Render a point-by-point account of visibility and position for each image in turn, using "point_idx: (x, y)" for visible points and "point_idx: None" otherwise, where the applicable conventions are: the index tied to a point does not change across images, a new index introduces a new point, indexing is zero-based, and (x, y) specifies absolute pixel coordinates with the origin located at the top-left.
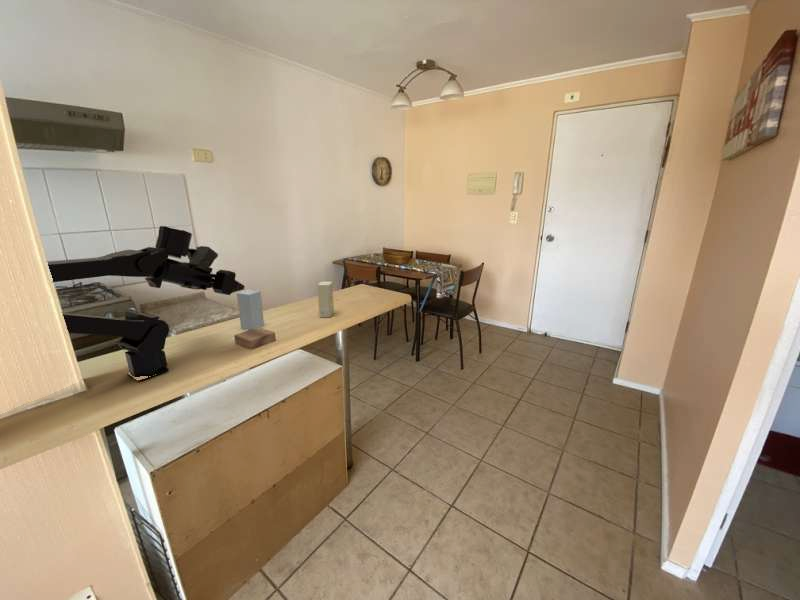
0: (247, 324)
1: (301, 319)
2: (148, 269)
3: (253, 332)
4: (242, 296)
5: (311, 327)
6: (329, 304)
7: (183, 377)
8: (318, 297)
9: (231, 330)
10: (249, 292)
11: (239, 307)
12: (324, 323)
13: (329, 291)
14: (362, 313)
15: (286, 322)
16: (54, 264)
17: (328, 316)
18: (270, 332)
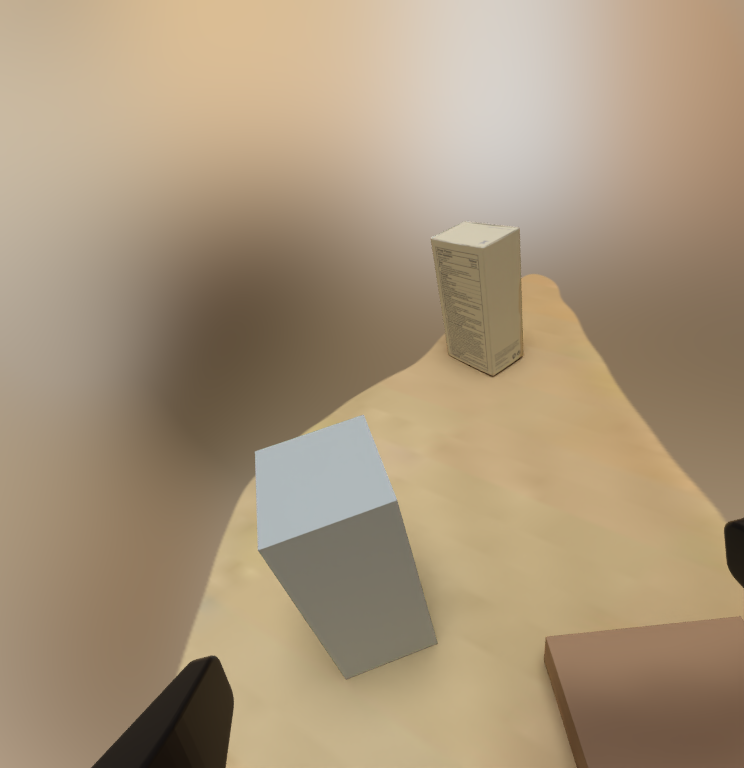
0: (392, 644)
1: (460, 421)
2: None
3: (661, 737)
4: (327, 540)
5: (595, 433)
6: (521, 311)
7: None
8: (489, 302)
9: (321, 751)
10: (331, 472)
11: (311, 609)
12: (576, 388)
13: (518, 257)
14: (551, 297)
15: (449, 472)
16: None
17: (517, 357)
18: (728, 640)
